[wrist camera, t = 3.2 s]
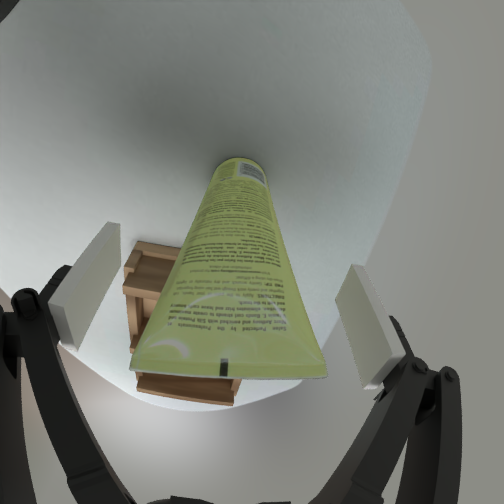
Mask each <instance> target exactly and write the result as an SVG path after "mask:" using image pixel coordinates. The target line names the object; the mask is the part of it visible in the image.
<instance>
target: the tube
mask: <svg viewBox="0 0 504 504" xmlns="http://www.w3.org/2000/svg"><path fill="white" fill-rule="evenodd" d="M129 370H130V371H137V372H147V373H157V374H167V375H177V376H189V377H203V378H226V379H257V380H297V379H320V378H327V377H328V373H327V368H326V363H325V360H324V357H323V355H322V353H321V350H320V348H319V345H318V343H317V340H316V338H315V335H314V332H313V330H312V327H311V324H310V321H309V318H308V316H307V313H306V310H305V307H304V304H303V301H302V299H301V296H300V293H299V289H298V286H297V283H296V280H295V277H294V274H293V271H292V268H291V264H290V261H289V258H288V255H287V252H286V248H285V245H284V242H283V239H282V235H281V232H280V229H279V225H278V222H277V218H276V214H275V211H274V207H273V203H272V199H271V195H270V191H269V187H268V183H267V179H266V176H265V173H264V171H263V170H262V168H261V167H260V166H259V165H258V164H257V163H255V162H253V161H252V160H249V159H246V158H232V159H229V160H227V161H225V162H223V163H222V164H220V165H219V166H218V167H217V169H216V170H215V172H214V174H213V176H212V179H211V181H210V184H209V186H208V188H207V191H206V193H205V196H204V198H203V200H202V203H201V205H200V207H199V210H198V212H197V214H196V216H195V219H194V221H193V223H192V226H191V228H190V230H189V232H188V235H187V237H186V239H185V241H184V244H183V246H182V248H181V250H180V252H179V255H178V257H177V259H176V261H175V264H174V266H173V268H172V270H171V272H170V275H169V277H168V279H167V281H166V283H165V285H164V288H163V290H162V292H161V294H160V297H159V299H158V301H157V303H156V306H155V308H154V310H153V312H152V314H151V316H150V319H149V321H148V323H147V325H146V327H145V330H144V332H143V334H142V336H141V338H140V340H139V342H138V344H137V346H136V348H135V350H134V353H133V355H132V358H131V362H130V367H129Z"/></svg>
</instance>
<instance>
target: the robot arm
mask: <svg viewBox="0 0 504 504" xmlns="http://www.w3.org/2000/svg"><path fill="white" fill-rule="evenodd" d="M17 2H18V0H0V22H1V21H2V20H3V19H4V18H5V16H6V15H7V14H8V13H9V12H10V11H11V9H12V8H13V7H14V6H15V4H16V3H17ZM120 266H121V249H120V224H118V223H112V222H107V223H106V224H105V225H104V227H103V228H102V229H101V230H100V232H99V233H98V234H97V235H96V236H95V238H94V239H93V240H92V242H91V243H90V244H89V245H88V247H87V248H86V249H85V251H84V252H83V253H82V255H81V256H80V257H79V259H78V260H77V261H76V263H75V264H74V265H73V266H68V265H64V266H62V267H61V268H59V269H58V270H57V271H56V272H55V273H54V275H53V276H52V279H50V280H49V282H48V284H46V286H45V287H44V288H43V290H42V291H41V293H40V294H39V295H38V293H37V291H36V290H34V289H32V288H24V289H21V290H19V291H17V292H16V293H15V294H14V295H13V297H12V298H11V305H12V307H13V310H14V312H4V310H3V308H2V306H1V305H0V504H37V503H36V498H35V493H34V489H33V484H32V480H31V475H30V470H29V465H28V459H27V452H26V446H25V439H24V438H25V437H24V428H23V417H22V404H21V403H22V401H21V357H24V358H25V363H26V367H27V371H28V374H29V378H30V382H31V385H32V389H33V392H34V396H35V399H36V402H37V405H38V408H39V411H40V414H41V417H42V419H43V422H44V425H45V428H46V430H47V433H48V435H49V438H50V440H51V442H52V445H53V447H54V450H55V452H56V454H57V456H58V458H59V461H60V463H61V465H62V467H63V469H64V471H65V473H66V476H67V483H68V486H69V488H70V491H71V493H72V494H73V496H74V498H75V500H76V501H77V503H78V504H137V503H136V502H135V500H134V499H133V498H132V496H131V495H130V493H129V492H128V490H127V489H126V488H125V487H124V485H123V484H122V482H121V481H120V479H119V478H118V476H117V475H116V473H115V471H114V470H113V468H112V467H111V465H110V463H109V462H108V460H107V458H106V456H105V455H104V453H103V451H102V450H101V447H100V446H99V444H98V442H97V440H96V438H95V436H94V434H93V432H92V430H91V428H90V426H89V424H88V422H87V420H86V418H85V416H84V414H83V412H82V410H81V408H80V405H79V403H78V401H77V398H76V396H75V394H74V391H73V389H72V386H71V384H70V381H69V379H68V376H67V374H66V371H65V368H64V366H63V363H62V360H61V357H60V355H59V352H58V349H57V344H58V342H59V340H60V341H61V344H62V346H63V348H66V349H69V350H72V351H75V352H78V350H79V347H80V345H81V343H82V341H83V339H84V336H85V334H86V332H87V330H88V328H89V326H90V324H91V322H92V320H93V318H94V316H95V314H96V312H97V310H98V308H99V306H100V304H101V302H102V300H103V298H104V296H105V294H106V292H107V290H108V288H109V286H110V285H111V283H112V281H113V279H114V277H115V275H116V274H117V272H118V270H119V268H120ZM335 301H336V304H337V307H338V310H339V313H340V316H341V319H342V322H343V325H344V328H345V331H346V334H347V337H348V340H349V344H350V347H351V350H352V352H353V356H354V360H355V363H356V366H357V369H358V373H359V376H360V379H361V382H362V386H363V389H376V388H377V387H378V386H379V385H380V384H381V383H382V382H383V384H384V387H385V388H384V389H383V390H382V391H381V392H380V393H379V394H378V395H377V396H376V397H375V398H374V400H376V399H377V401H376V403H375V404H374V406H373V408H372V410H371V412H370V414H369V416H368V417H367V419H366V421H365V423H364V425H363V427H362V428H361V430H360V432H359V433H358V435H357V437H356V439H355V440H354V442H353V444H352V445H351V447H350V448H349V450H348V452H347V453H346V455H345V456H344V458H343V460H342V461H341V463H340V464H339V466H338V467H337V469H336V470H335V472H334V473H333V475H332V476H331V477H330V479H329V480H328V482H327V483H326V484H325V486H324V487H323V489H322V490H321V491H320V493H319V494H318V495H317V496H316V497H315V498H314V499H313V500H311V501H310V502H309V503H308V504H383V503H384V499H383V498H382V497H381V494H382V492H383V490H384V488H385V486H386V484H387V482H388V480H389V478H390V476H391V474H392V472H393V470H394V468H395V466H396V464H397V461H398V459H399V457H400V454H401V452H402V450H403V448H404V445H405V443H406V440H407V438H408V442H407V448H406V455H405V461H404V467H403V471H402V477H401V481H400V486H399V491H398V495H397V499H396V503H395V504H457V502H458V494H459V485H460V472H461V458H462V410H461V393H460V382H459V376H458V374H457V373H456V371H455V370H454V369H452V368H451V367H448V366H445V367H443V368H442V369H441V370H440V371H439V372H436V371H433V370H430V369H429V368H428V366H427V364H426V363H425V362H424V361H423V360H422V359H420V358H417V357H414V354H413V352H412V350H411V348H410V345H409V343H408V341H407V339H406V338H405V335H404V333H403V332H402V329H401V327H400V325H399V323H398V322H397V320H396V319H395V318H394V317H393V316H388V314H387V312H386V310H385V308H384V306H383V304H382V302H381V300H380V298H379V296H378V294H377V292H376V290H375V288H374V286H373V284H372V282H371V280H370V278H369V276H368V274H367V273H366V271H365V269H364V267H363V266H360V265H354V264H352V265H351V267H350V269H349V271H348V274H347V276H346V278H345V280H344V282H343V284H342V286H341V288H340V291H339V293H338V295H337V297H336V299H335ZM147 504H213V503H210V502H207V501H204V500H200V499H192V498H184V497H177V496H171V498H170V499H163V500H157V501H153V502H150V503H147ZM259 504H291V502H290V501H289V502H262V503H259Z"/></svg>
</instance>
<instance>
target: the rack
mask: <svg viewBox="0 0 504 504" xmlns="http://www.w3.org/2000/svg"><path fill="white" fill-rule="evenodd" d="M180 250H181V249H180V248H174V247H168V246H162V245H156V244H150V243H145V242H139V241H137V243H136V245H135V247H134V249H133V250H132V252H131V254H130V256H129V258H128V260H127V262H126V263H125V265H124V278H125V281H124V283H123V285H122V287H123V294H126V304H127V314H128V323H129V332H130V340H131V345H130V353H132V354H133V353H134V350H135V348H136V346H137V344H138V342H139V340H140V338H141V336H142V334H143V332H144V330H145V327H146V325H147V323H148V321H149V319H150V316H151V314H152V312H153V310H154V308H155V306H156V303H157V301H158V299H159V297H160V294H161V292H162V290H163V288H164V285H165V283H166V281H167V279H168V277H169V275H170V272H171V270H172V268H173V266H174V264H175V261H176V259H177V257H178V255H179V252H180ZM135 373H136V379H137V381H138V383H137V387H136V388H137V391H138V392H143V393H148V394H153V395H158V396H163V397H169V398H174V399H180V400H187V401H193V402H201V403H208V404H217V405H226V406H233V404H234V396H236V394H237V391H238V389H239V386H240V383H241V381H242V379H226V378H203V377H189V376H177V375H167V374H157V373H147V372H137V371H135Z"/></svg>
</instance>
